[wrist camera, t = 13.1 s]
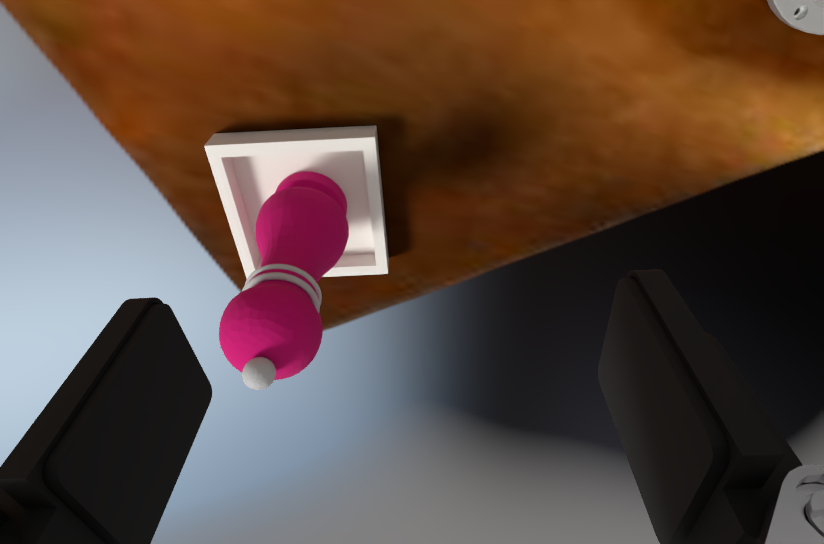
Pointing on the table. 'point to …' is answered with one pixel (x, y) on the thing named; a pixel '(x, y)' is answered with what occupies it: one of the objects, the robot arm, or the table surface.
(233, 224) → the ceramic dish
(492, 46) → the table surface
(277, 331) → the pepper mill
